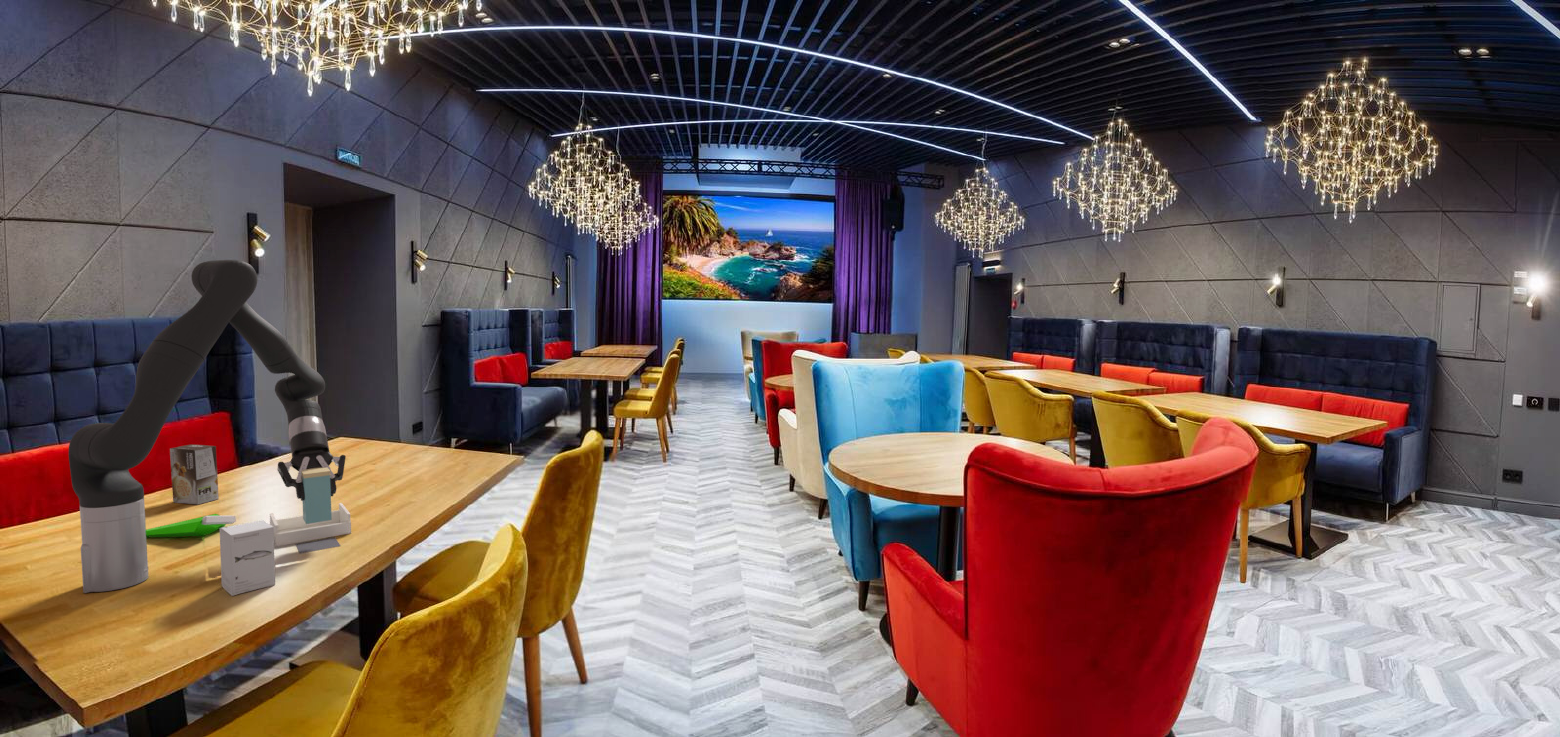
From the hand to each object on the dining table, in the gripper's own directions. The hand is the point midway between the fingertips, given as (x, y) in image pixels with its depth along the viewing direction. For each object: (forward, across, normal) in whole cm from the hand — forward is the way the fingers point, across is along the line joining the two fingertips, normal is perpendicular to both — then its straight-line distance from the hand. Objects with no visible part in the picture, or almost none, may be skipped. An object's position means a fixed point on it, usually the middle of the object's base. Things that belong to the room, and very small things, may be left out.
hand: (317, 496), depth 155 cm
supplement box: (+20, -14, -2) cm, 25 cm away
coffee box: (-38, -21, +57) cm, 72 cm away
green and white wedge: (-12, -26, +31) cm, 43 cm away
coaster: (+8, 0, +10) cm, 13 cm away
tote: (0, 0, +18) cm, 18 cm away
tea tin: (+3, 0, +6) cm, 6 cm away
